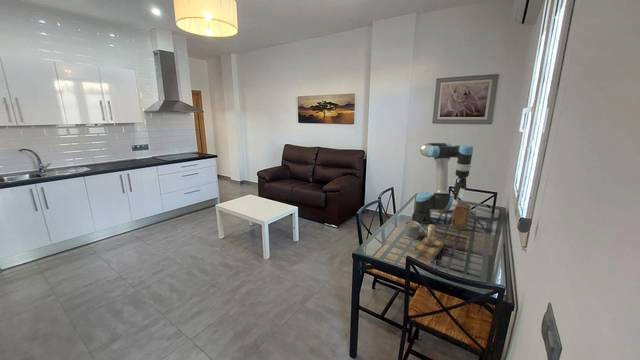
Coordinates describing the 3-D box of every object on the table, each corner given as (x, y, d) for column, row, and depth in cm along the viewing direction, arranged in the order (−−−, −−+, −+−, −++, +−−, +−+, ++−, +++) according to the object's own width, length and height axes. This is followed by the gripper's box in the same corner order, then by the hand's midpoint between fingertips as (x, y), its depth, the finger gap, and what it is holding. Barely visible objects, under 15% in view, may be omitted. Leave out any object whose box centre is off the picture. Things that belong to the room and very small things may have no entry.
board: (414, 252, 168) (415, 247, 166) (425, 241, 180) (425, 236, 179) (433, 259, 160) (434, 254, 159) (442, 247, 172) (443, 242, 171)
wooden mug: (450, 215, 220) (453, 196, 214) (434, 211, 228) (436, 192, 223) (453, 212, 226) (456, 193, 220) (437, 208, 235) (440, 189, 229)
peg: (424, 250, 170) (427, 226, 164) (427, 247, 173) (429, 223, 167) (431, 252, 167) (434, 228, 162) (433, 250, 170) (436, 225, 165)
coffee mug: (402, 237, 187) (403, 224, 184) (406, 231, 195) (407, 219, 192) (421, 242, 180) (422, 229, 177) (424, 236, 187) (425, 223, 184)
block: (467, 227, 198) (471, 204, 192) (465, 231, 193) (469, 207, 187) (452, 224, 205) (455, 200, 199) (449, 227, 199) (453, 204, 193)
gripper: (463, 175, 152) (458, 208, 158) (474, 166, 169) (469, 196, 175) (449, 173, 157) (445, 204, 163) (462, 165, 174) (457, 194, 180)
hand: (457, 200), depth 169 cm, fingers open, 13 cm apart
